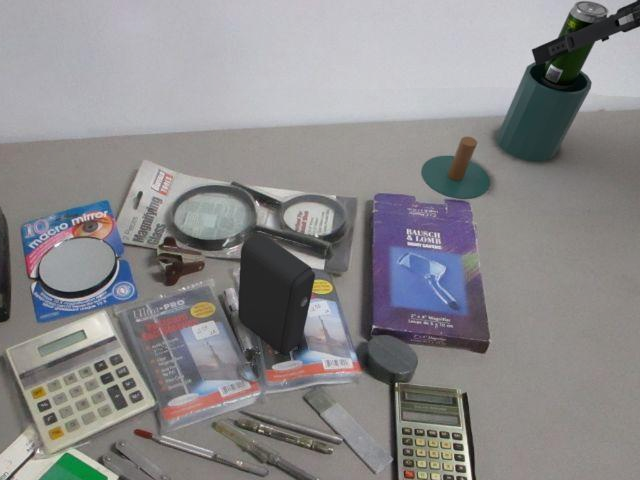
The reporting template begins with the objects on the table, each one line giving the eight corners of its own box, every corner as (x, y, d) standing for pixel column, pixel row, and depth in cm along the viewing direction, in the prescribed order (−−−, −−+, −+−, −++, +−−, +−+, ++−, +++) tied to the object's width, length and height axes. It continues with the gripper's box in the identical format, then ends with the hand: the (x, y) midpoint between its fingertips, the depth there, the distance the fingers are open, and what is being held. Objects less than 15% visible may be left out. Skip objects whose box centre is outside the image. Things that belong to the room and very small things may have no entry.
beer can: (565, 93, 96) (603, 19, 87) (534, 81, 98) (567, 8, 89) (578, 81, 99) (615, 8, 90) (547, 69, 101) (580, -3, 92)
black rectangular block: (305, 345, 79) (321, 267, 67) (285, 362, 77) (298, 286, 65) (255, 306, 82) (262, 227, 71) (235, 322, 81) (239, 243, 69)
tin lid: (479, 162, 105) (496, 122, 99) (494, 205, 98) (513, 165, 92) (415, 158, 106) (428, 118, 99) (425, 200, 98) (439, 160, 92)
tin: (544, 132, 112) (579, 62, 101) (561, 167, 105) (600, 95, 95) (489, 129, 112) (519, 59, 101) (502, 163, 106) (535, 92, 95)
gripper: (679, 30, 74) (518, 90, 95) (747, -4, 81) (584, 59, 102) (664, -30, 73) (504, 44, 93) (734, -59, 80) (572, 16, 101)
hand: (546, 52), depth 98 cm, fingers closed on beer can, 5 cm apart
